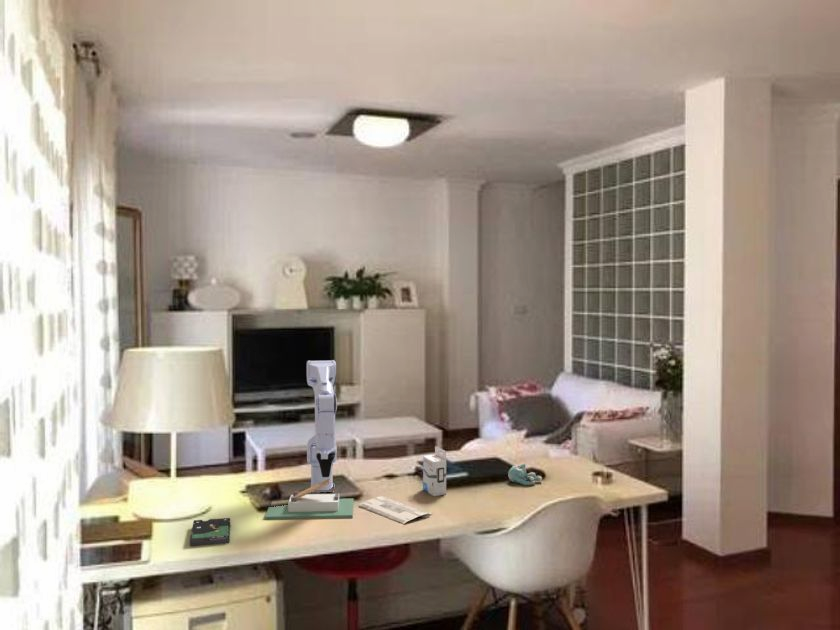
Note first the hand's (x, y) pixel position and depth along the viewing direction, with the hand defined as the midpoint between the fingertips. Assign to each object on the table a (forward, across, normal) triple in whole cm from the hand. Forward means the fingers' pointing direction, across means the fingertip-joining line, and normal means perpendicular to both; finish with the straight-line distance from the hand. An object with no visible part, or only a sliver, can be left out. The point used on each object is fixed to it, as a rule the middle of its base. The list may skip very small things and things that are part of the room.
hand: (325, 476), depth 213 cm
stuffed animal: (+11, -26, +69) cm, 74 cm away
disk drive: (+11, +20, -30) cm, 38 cm away
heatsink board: (+10, 0, -4) cm, 11 cm away
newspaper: (+11, +2, +21) cm, 24 cm away
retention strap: (+4, 0, -4) cm, 6 cm away
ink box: (+10, -16, +36) cm, 40 cm away
